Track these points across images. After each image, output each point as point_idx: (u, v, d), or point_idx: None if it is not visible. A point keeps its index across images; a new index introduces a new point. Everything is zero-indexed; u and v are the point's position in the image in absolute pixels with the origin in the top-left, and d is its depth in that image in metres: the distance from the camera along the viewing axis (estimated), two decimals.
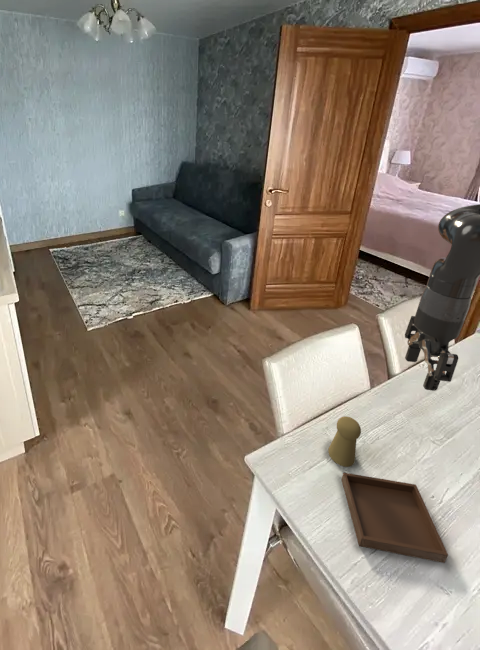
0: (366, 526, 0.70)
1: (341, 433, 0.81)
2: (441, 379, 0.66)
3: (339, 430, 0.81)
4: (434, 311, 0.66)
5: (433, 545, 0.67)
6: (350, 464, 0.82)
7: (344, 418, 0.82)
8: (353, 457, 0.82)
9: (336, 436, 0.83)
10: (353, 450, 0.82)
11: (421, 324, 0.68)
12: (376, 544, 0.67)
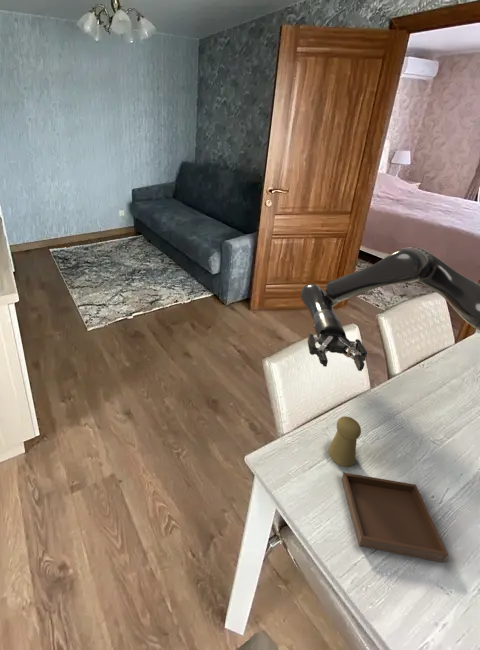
0: (366, 526, 0.70)
1: (341, 433, 0.81)
2: (310, 350, 0.94)
3: (339, 430, 0.81)
4: None
5: (433, 545, 0.67)
6: (350, 464, 0.82)
7: (344, 418, 0.82)
8: (353, 457, 0.82)
9: (336, 436, 0.83)
10: (353, 450, 0.82)
11: None
12: (376, 544, 0.67)
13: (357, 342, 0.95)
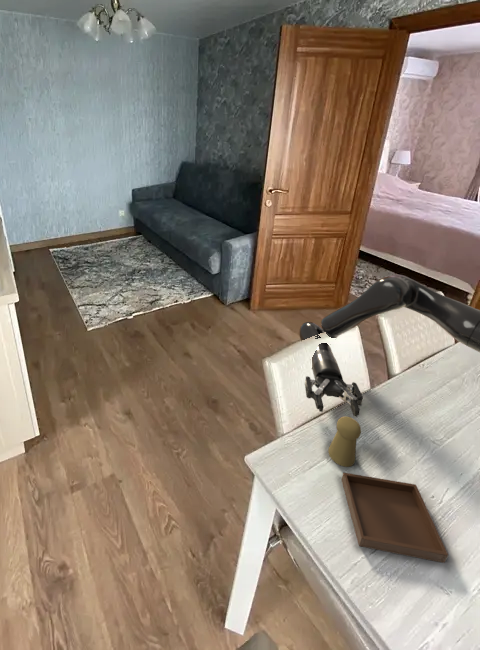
0: (366, 526, 0.70)
1: (341, 433, 0.81)
2: (307, 394, 0.95)
3: (339, 430, 0.81)
4: None
5: (433, 545, 0.67)
6: (350, 464, 0.82)
7: (344, 418, 0.82)
8: (353, 457, 0.82)
9: (336, 436, 0.83)
10: (353, 450, 0.82)
11: None
12: (376, 544, 0.67)
13: (353, 386, 0.96)
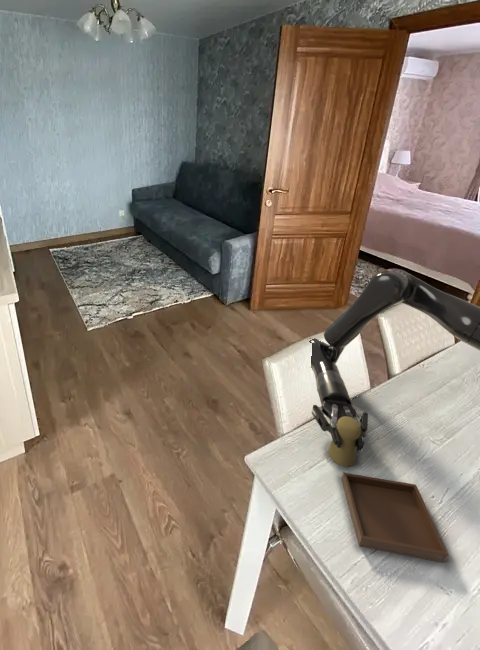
0: (366, 526, 0.70)
1: (341, 433, 0.81)
2: (322, 426, 0.86)
3: (339, 430, 0.81)
4: None
5: (433, 545, 0.67)
6: (350, 464, 0.82)
7: (344, 418, 0.82)
8: (353, 457, 0.82)
9: None
10: (353, 450, 0.82)
11: None
12: (376, 544, 0.67)
13: (363, 415, 0.87)
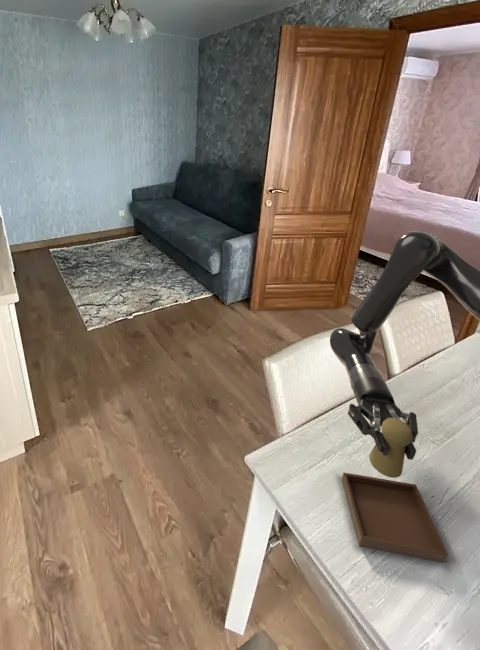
0: (366, 526, 0.70)
1: (388, 438, 0.67)
2: (362, 429, 0.72)
3: (385, 434, 0.68)
4: None
5: (433, 545, 0.67)
6: (398, 475, 0.69)
7: (391, 420, 0.69)
8: (401, 466, 0.69)
9: None
10: (402, 458, 0.68)
11: None
12: (376, 544, 0.67)
13: (410, 416, 0.73)
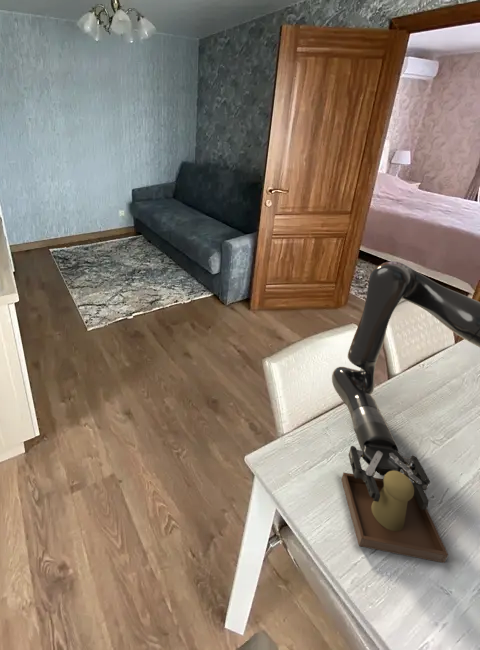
0: (366, 526, 0.70)
1: (390, 493, 0.68)
2: (354, 473, 0.74)
3: (388, 489, 0.68)
4: None
5: (433, 545, 0.67)
6: (400, 528, 0.70)
7: (393, 473, 0.69)
8: (403, 520, 0.69)
9: (383, 494, 0.70)
10: (404, 512, 0.69)
11: None
12: (376, 544, 0.67)
13: (414, 461, 0.75)
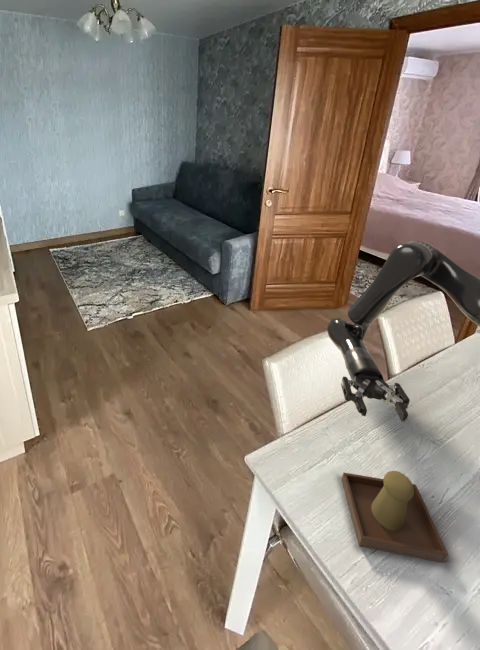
0: (366, 526, 0.70)
1: (390, 493, 0.68)
2: (345, 396, 0.86)
3: (388, 489, 0.68)
4: None
5: (433, 545, 0.67)
6: (400, 528, 0.70)
7: (393, 473, 0.69)
8: (403, 520, 0.69)
9: (383, 494, 0.70)
10: (404, 512, 0.69)
11: None
12: (376, 544, 0.67)
13: (397, 386, 0.86)
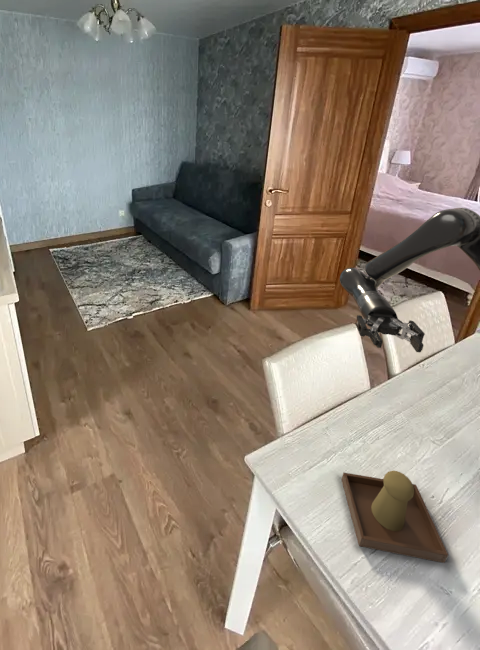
0: (366, 526, 0.70)
1: (390, 493, 0.68)
2: (360, 332, 0.86)
3: (388, 489, 0.68)
4: None
5: (433, 545, 0.67)
6: (400, 528, 0.70)
7: (393, 473, 0.69)
8: (403, 520, 0.69)
9: (383, 494, 0.70)
10: (404, 512, 0.69)
11: None
12: (376, 544, 0.67)
13: (411, 323, 0.87)
